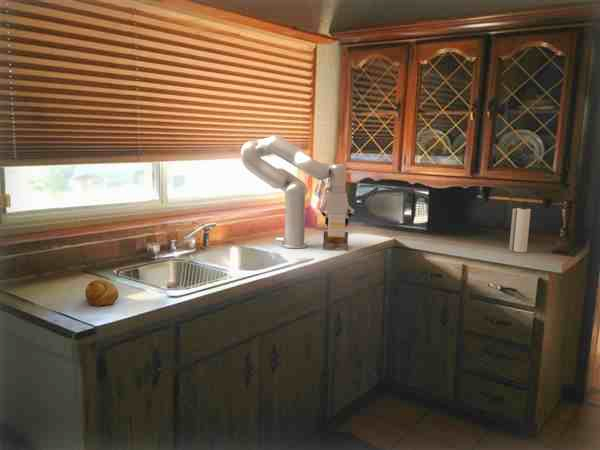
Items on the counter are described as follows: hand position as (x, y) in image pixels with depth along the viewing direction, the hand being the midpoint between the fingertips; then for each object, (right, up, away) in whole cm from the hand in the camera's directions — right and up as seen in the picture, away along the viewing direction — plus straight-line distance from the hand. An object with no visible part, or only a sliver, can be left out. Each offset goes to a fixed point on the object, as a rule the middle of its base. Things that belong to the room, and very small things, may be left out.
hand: (336, 225), depth 260 cm
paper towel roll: (+90, -13, +5) cm, 91 cm away
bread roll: (-81, -24, -87) cm, 122 cm away
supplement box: (0, -5, +1) cm, 5 cm away
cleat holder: (0, -11, +3) cm, 11 cm away
